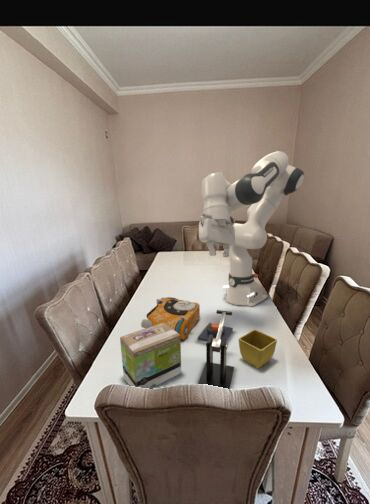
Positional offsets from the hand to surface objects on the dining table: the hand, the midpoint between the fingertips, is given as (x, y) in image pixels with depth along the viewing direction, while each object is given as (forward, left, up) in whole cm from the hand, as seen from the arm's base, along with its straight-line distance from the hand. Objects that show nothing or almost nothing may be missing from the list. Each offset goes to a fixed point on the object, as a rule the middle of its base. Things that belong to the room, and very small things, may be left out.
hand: (219, 256), depth 88 cm
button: (+2, 0, -28) cm, 28 cm away
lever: (+12, +15, -19) cm, 27 cm away
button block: (+2, 0, -32) cm, 32 cm away
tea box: (+32, +6, -32) cm, 46 cm away
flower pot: (+1, +20, -32) cm, 38 cm away
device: (+9, -20, -32) cm, 39 cm away
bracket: (+17, +18, -32) cm, 40 cm away
